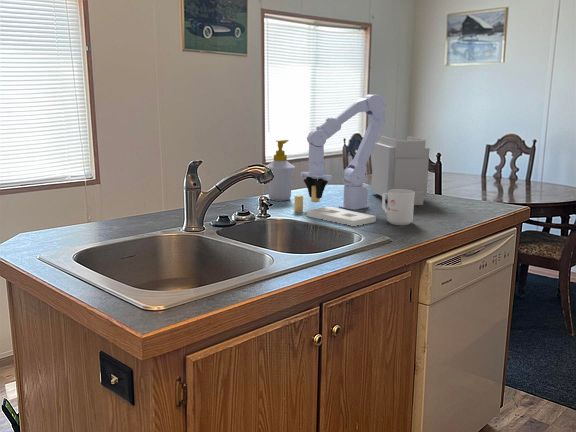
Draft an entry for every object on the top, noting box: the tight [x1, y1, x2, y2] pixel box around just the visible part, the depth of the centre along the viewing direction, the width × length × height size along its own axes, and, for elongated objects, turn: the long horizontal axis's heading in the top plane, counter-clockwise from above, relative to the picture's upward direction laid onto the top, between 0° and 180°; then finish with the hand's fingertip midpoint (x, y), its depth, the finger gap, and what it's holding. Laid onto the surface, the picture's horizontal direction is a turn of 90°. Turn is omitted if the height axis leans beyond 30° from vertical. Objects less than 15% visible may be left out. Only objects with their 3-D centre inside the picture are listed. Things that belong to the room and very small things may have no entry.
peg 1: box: [293, 195, 304, 214], centre depth 206 cm, size 3×3×6 cm
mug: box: [381, 189, 415, 226], centre depth 192 cm, size 12×9×11 cm
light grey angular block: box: [370, 135, 431, 206], centre depth 234 cm, size 17×27×26 cm, turn 9°
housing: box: [305, 206, 377, 227], centre depth 196 cm, size 12×22×2 cm, turn 44°
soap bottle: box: [265, 139, 296, 202], centre depth 229 cm, size 13×13×25 cm
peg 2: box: [310, 185, 321, 203], centre depth 212 cm, size 3×3×6 cm
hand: (315, 197), depth 212 cm, fingers closed on peg 2, 3 cm apart
